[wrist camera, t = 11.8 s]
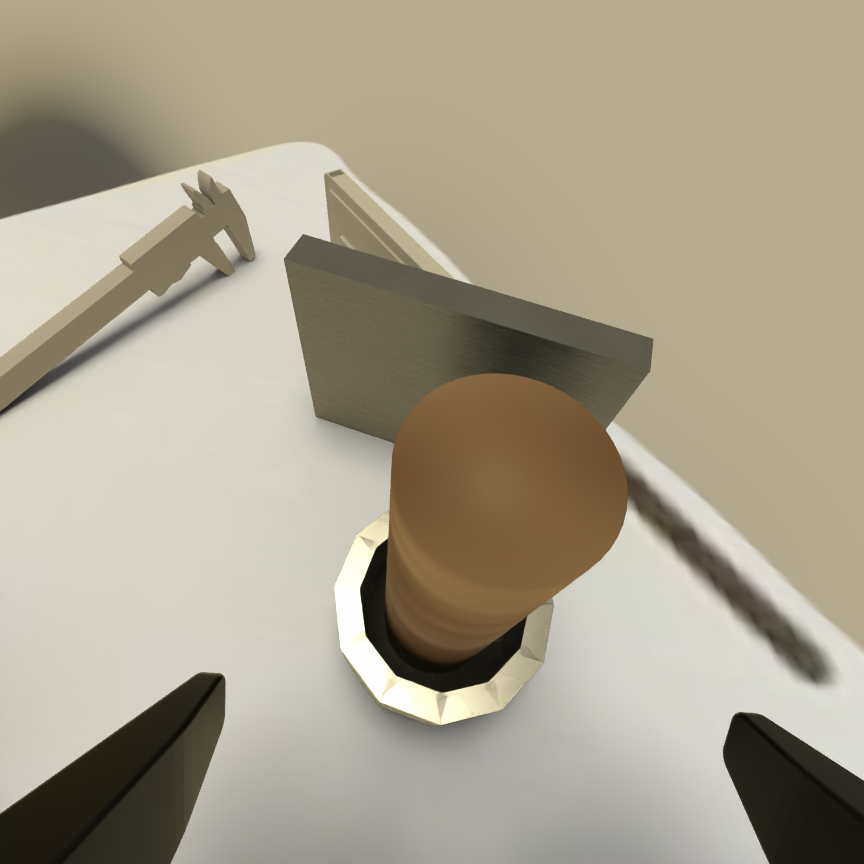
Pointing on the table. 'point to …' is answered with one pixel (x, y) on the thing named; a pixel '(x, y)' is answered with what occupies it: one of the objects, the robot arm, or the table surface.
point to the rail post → (492, 513)
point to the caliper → (132, 282)
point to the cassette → (370, 226)
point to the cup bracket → (394, 399)
